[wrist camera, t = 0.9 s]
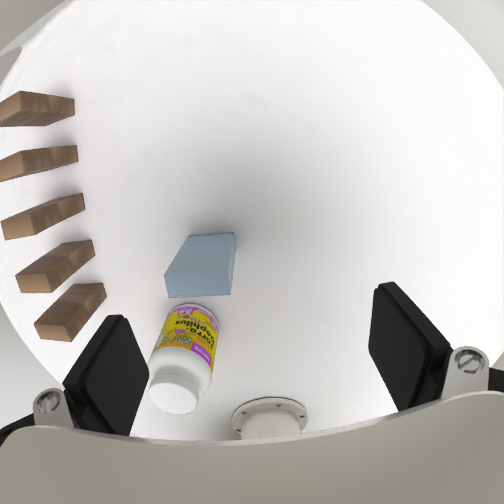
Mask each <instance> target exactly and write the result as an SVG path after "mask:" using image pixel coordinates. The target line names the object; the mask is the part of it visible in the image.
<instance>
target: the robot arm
mask: <svg viewBox="0 0 504 504" xmlns="http://www.w3.org/2000/svg"><path fill="white" fill-rule="evenodd" d="M368 349H369V353H370V355H371V357H372V359H373V361H374V363H375V365H376V367H377V369H378V371H379V373H380V375H381V377H382V379H383V381H384V383H385V385H386V387H387V389H388V391H389V393H390V395H391V397H392V399H393V401H394V403H395V405H396V407H397V409H398V411H399V412H397V413H393V414H390V415H386V416H382V417H379V418H375V419H371V420H367V421H363V422H359V423H355V424H351V425H346V426H342V427H337V428H332V429H327V430H322V431H316V432H310V433H304V434H301V432H300V431H301V430H302V429H303V428H304V427H305V426H306V424H307V420H308V417H307V412H306V410H305V408H304V407H303V406H302V405H300V404H299V403H297V402H295V401H292V400H288V399H284V398H264V399H259V400H254V401H251V402H249V403H246V404H244V405H242V406H241V407H240V408H238V409H237V410H236V411H235V412H234V414H233V416H232V427H233V429H234V431H235V432H236V433H237V434H239V435H240V436H241V440H230V441H180V440H161V439H148V438H138V437H129V434H130V431H131V428H132V425H133V422H134V419H135V416H136V413H137V410H138V407H139V404H140V402H141V399H142V396H143V393H144V390H145V387H146V385H147V382H148V379H149V369H148V366H147V364H146V362H145V360H144V357H143V355H142V353H141V351H140V348H139V346H138V343H137V341H136V339H135V336H134V334H133V331H132V329H131V326H130V324H129V321H128V319H127V318H124V317H123V315H108V316H107V317H106V318H105V320H104V321H103V323H102V324H101V325H100V327H99V328H98V330H97V331H96V332H95V334H94V335H93V337H92V338H91V340H90V341H89V343H88V344H87V346H86V347H85V349H84V350H83V352H82V353H81V355H80V356H79V358H78V359H77V361H76V362H75V364H74V365H73V367H72V368H71V370H70V371H69V373H68V375H67V376H66V378H65V379H64V381H63V383H62V384H63V386H64V387H65V390H64V392H63V391H62V390H60V389H58V388H50V389H47V390H45V391H43V392H41V393H40V394H39V395H38V396H37V397H36V399H35V400H34V403H33V413H32V414H30V415H28V416H26V417H24V418H22V419H20V420H18V421H16V422H13V423H11V424H9V425H7V426H5V427H3V428H2V429H1V430H0V504H504V371H502V370H497V369H494V368H490V367H489V360H488V358H487V356H486V355H485V354H484V353H483V352H482V351H481V350H479V349H477V348H474V347H470V346H464V347H459V348H457V349H455V350H453V349H452V348H451V347H450V343H449V342H448V341H447V340H446V338H445V337H444V336H443V335H442V334H441V333H440V331H439V330H438V329H437V328H436V327H435V326H434V325H433V323H432V322H431V321H430V320H429V319H428V318H427V317H426V315H425V314H424V313H423V312H422V311H421V310H420V309H419V308H418V307H417V306H416V304H415V303H414V302H413V301H412V300H411V299H410V298H409V297H408V296H407V295H406V294H405V293H404V292H403V290H402V289H401V288H400V287H399V286H398V285H397V284H396V283H395V282H388V283H382V284H379V285H378V288H376V289H375V290H374V296H373V308H372V318H371V327H370V336H369V344H368Z"/></svg>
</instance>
